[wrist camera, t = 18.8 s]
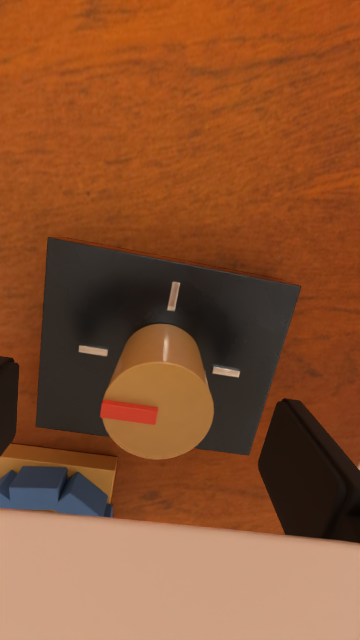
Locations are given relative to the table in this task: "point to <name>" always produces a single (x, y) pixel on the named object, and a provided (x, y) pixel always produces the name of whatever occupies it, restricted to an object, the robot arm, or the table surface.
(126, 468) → the table surface
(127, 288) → the black dial base plate
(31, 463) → the wooden peg stand
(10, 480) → the segmented ring
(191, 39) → the table surface
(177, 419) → the rotary dial knob
